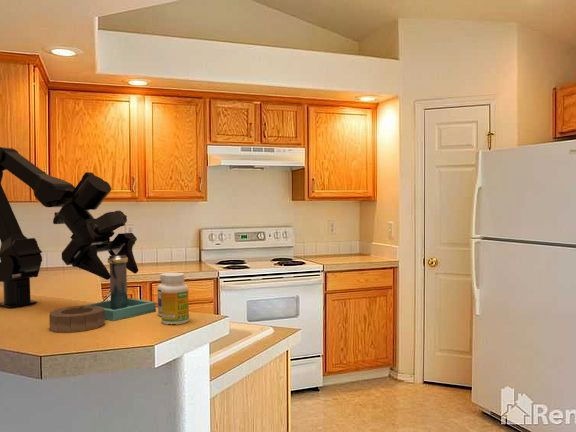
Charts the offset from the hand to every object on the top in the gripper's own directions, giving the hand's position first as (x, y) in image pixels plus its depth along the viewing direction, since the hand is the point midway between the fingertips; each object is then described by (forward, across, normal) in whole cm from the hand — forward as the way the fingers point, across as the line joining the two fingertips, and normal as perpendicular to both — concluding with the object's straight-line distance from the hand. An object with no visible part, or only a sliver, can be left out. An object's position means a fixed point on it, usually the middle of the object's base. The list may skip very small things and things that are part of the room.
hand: (123, 275), depth 115 cm
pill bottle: (+14, +2, -1) cm, 14 cm away
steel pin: (+4, 0, +6) cm, 8 cm away
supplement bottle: (+17, -4, -5) cm, 18 cm away
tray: (+5, 0, +7) cm, 9 cm away
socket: (+5, -12, +7) cm, 15 cm away
